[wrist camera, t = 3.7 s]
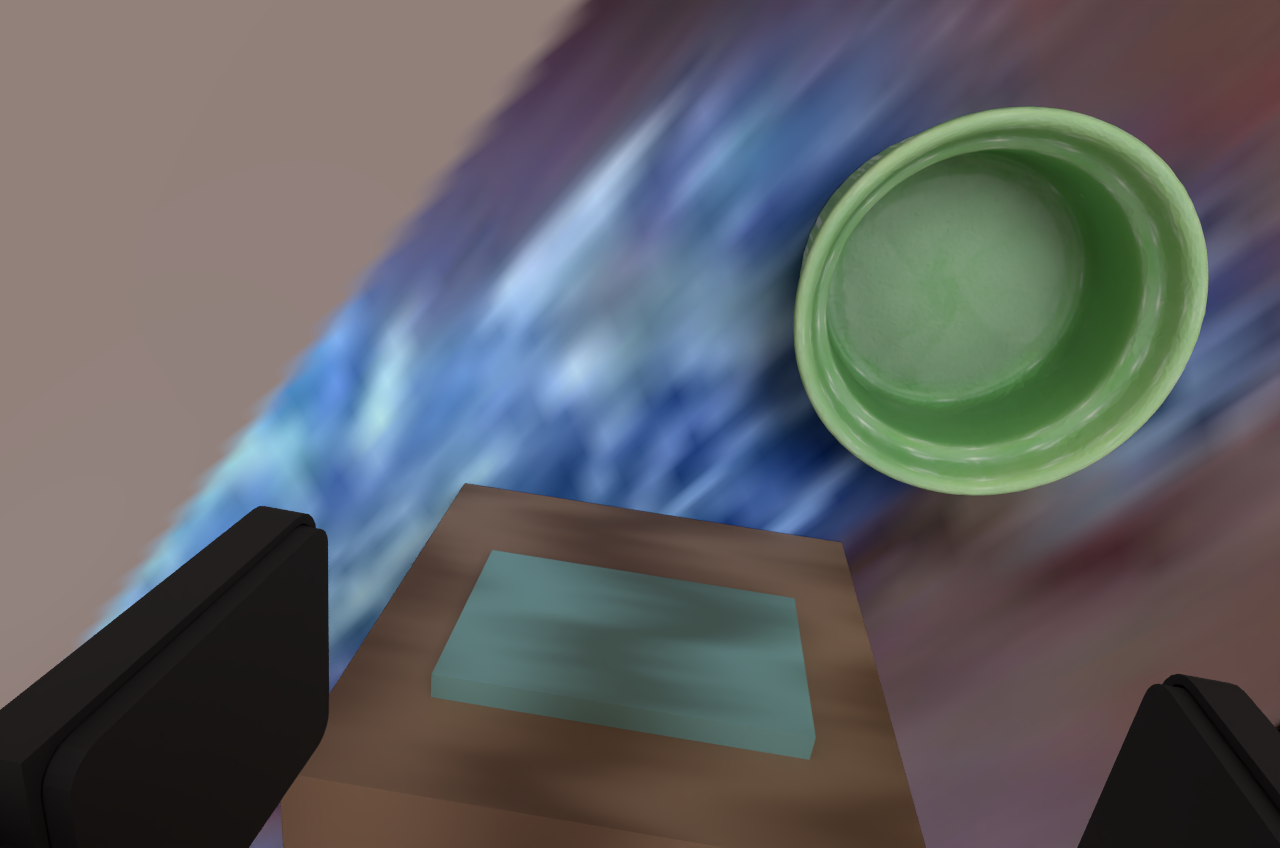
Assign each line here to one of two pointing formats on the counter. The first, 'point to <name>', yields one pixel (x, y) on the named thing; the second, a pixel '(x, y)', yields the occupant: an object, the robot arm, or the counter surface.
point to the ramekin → (999, 300)
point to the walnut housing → (608, 693)
